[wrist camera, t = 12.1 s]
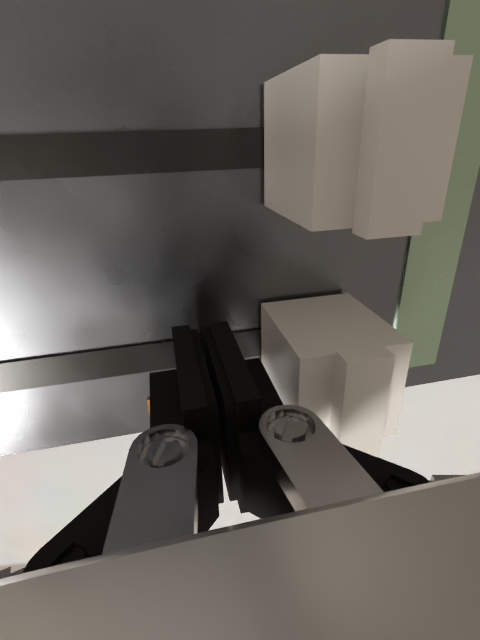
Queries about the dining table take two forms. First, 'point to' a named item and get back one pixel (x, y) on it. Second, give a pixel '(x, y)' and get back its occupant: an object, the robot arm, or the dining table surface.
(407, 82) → the block
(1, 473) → the dining table surface
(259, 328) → the breaker board
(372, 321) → the block
